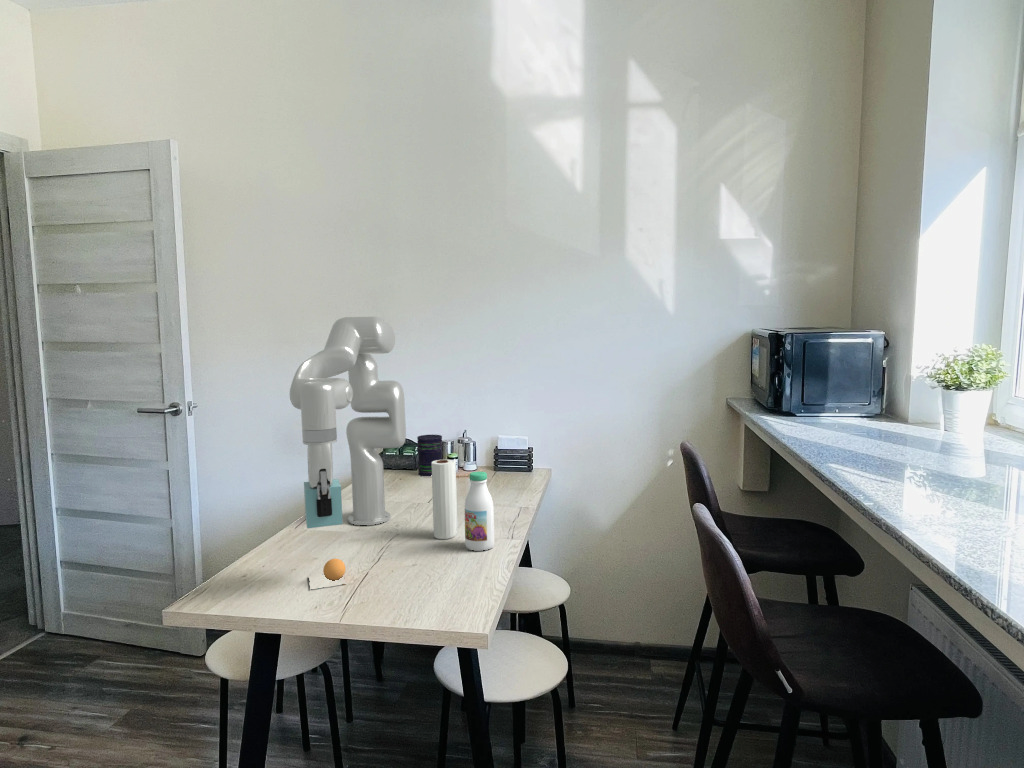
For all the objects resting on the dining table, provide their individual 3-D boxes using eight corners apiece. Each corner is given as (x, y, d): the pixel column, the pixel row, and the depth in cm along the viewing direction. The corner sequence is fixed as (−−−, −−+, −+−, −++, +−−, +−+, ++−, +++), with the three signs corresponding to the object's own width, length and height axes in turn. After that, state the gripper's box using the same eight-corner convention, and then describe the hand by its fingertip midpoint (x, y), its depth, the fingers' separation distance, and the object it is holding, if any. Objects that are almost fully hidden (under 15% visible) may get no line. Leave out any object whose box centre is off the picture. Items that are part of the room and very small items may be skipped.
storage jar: (413, 476, 254) (412, 438, 252) (424, 470, 263) (423, 434, 262) (437, 477, 251) (435, 439, 249) (447, 471, 260) (446, 435, 258)
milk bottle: (478, 540, 178) (477, 468, 177) (500, 545, 174) (498, 472, 172) (459, 547, 173) (457, 473, 171) (480, 554, 168) (479, 477, 166)
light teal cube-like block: (305, 518, 153) (303, 482, 152) (339, 514, 155) (337, 478, 155) (307, 528, 146) (305, 490, 145) (342, 524, 148) (340, 486, 147)
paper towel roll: (435, 540, 178) (433, 464, 176) (432, 534, 184) (429, 459, 182) (461, 538, 180) (459, 462, 178) (457, 531, 186) (455, 457, 184)
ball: (332, 551, 154) (348, 563, 156) (317, 568, 153) (334, 580, 155) (334, 558, 150) (351, 570, 151) (319, 576, 149) (336, 588, 150)
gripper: (300, 431, 155) (304, 503, 157) (304, 443, 139) (308, 523, 141) (333, 428, 158) (336, 499, 160) (340, 441, 142) (343, 519, 143)
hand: (323, 510), depth 150 cm, fingers closed on light teal cube-like block, 7 cm apart
